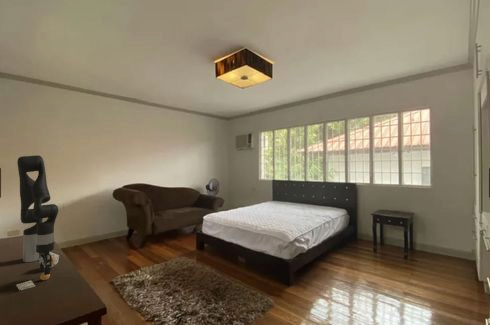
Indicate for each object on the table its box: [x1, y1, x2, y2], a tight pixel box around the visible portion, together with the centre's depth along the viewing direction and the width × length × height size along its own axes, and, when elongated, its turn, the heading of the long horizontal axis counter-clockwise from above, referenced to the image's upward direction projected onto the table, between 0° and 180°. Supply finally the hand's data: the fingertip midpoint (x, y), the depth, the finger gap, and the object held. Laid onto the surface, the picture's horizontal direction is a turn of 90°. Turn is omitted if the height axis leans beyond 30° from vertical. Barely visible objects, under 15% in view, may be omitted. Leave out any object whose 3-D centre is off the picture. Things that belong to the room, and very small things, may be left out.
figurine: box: [39, 257, 55, 281], centre depth 128 cm, size 8×6×12 cm
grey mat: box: [15, 280, 36, 291], centre depth 121 cm, size 9×6×1 cm, turn 52°
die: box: [47, 251, 60, 269], centre depth 141 cm, size 8×9×10 cm
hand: (44, 272), depth 126 cm, fingers open, 8 cm apart
